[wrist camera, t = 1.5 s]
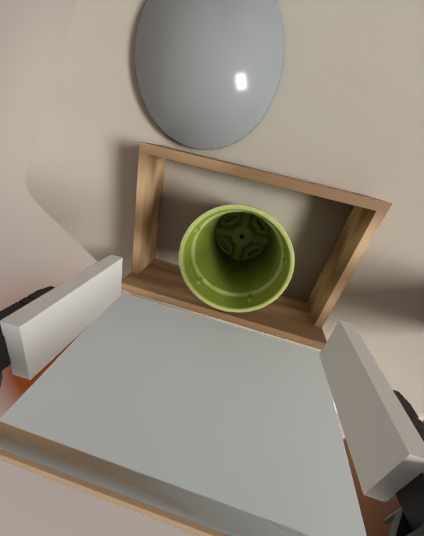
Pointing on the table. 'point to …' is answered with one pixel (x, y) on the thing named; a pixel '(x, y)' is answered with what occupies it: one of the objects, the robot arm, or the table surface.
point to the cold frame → (283, 308)
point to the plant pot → (236, 258)
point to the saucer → (209, 67)
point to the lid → (189, 426)
